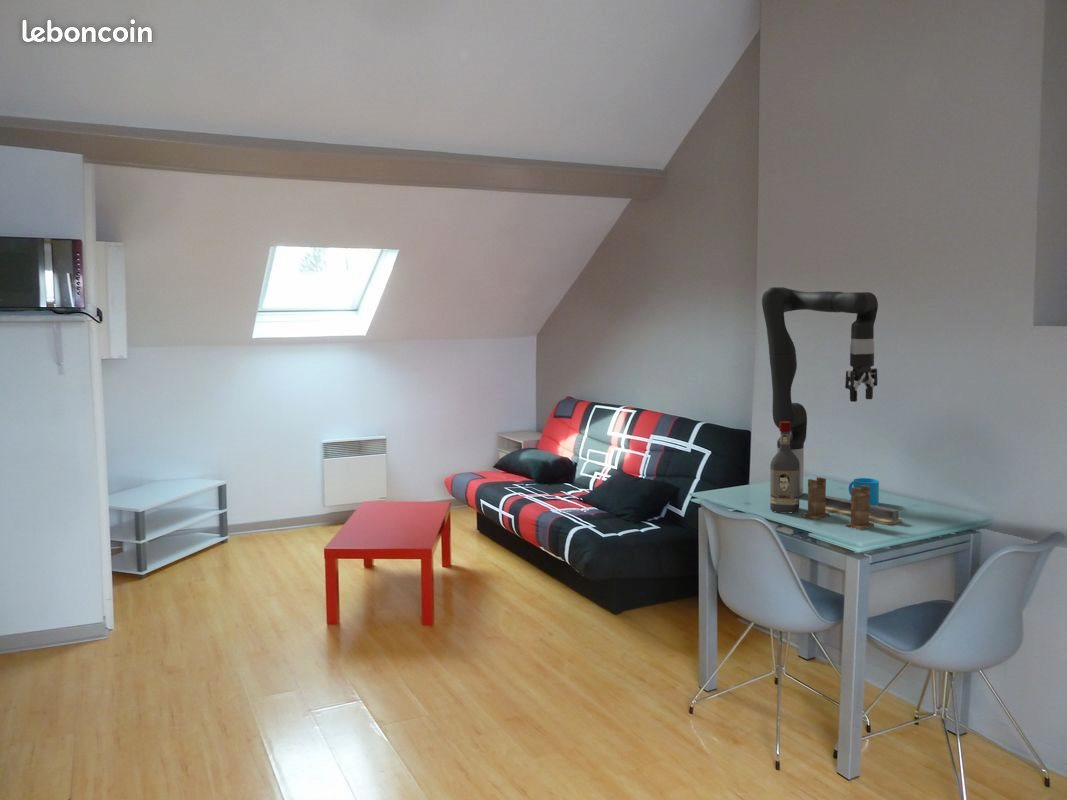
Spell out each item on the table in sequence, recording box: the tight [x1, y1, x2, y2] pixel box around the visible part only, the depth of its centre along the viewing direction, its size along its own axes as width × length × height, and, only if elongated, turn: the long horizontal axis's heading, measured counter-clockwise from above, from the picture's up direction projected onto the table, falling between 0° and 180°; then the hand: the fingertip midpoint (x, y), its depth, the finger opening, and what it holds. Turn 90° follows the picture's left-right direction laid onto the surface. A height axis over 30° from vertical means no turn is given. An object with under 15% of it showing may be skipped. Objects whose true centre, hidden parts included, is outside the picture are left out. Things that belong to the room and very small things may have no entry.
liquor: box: [769, 421, 800, 513], centre depth 277 cm, size 9×9×30 cm
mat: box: [825, 507, 903, 526], centre depth 269 cm, size 26×7×1 cm, turn 34°
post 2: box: [845, 485, 875, 531], centre depth 256 cm, size 5×7×12 cm
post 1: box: [803, 476, 831, 520], centre depth 269 cm, size 5×7×12 cm
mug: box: [848, 477, 880, 506], centre depth 286 cm, size 12×8×8 cm
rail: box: [825, 495, 900, 521], centre depth 269 cm, size 26×3×3 cm, turn 34°
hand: (861, 400), depth 278 cm, fingers open, 8 cm apart
